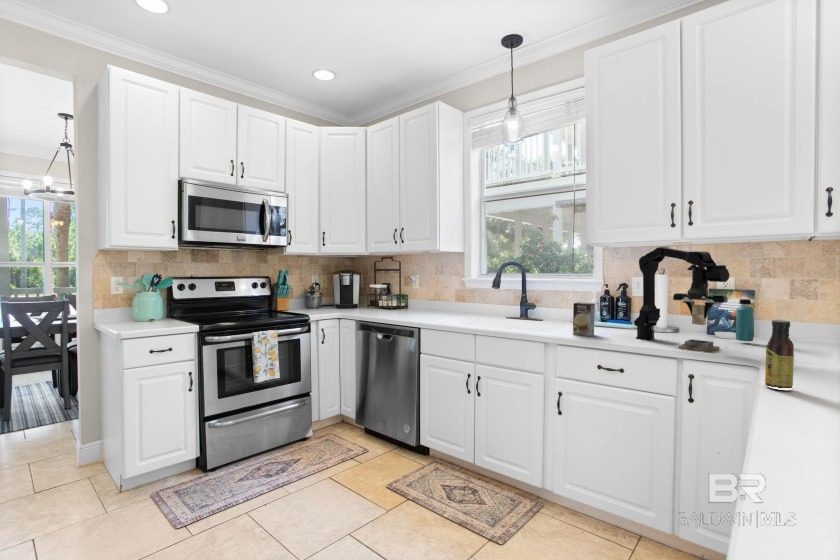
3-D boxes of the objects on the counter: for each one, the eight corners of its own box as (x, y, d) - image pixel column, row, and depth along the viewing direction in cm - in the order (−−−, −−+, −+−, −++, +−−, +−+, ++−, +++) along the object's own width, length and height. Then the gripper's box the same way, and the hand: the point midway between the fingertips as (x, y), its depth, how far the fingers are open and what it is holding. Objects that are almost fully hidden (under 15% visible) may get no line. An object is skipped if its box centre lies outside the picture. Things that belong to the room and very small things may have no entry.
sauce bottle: (765, 384, 130) (766, 318, 129) (792, 388, 126) (794, 320, 125) (764, 389, 125) (766, 320, 124) (793, 393, 121) (795, 322, 120)
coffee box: (572, 334, 223) (572, 303, 222) (576, 332, 228) (577, 302, 227) (590, 336, 217) (590, 304, 216) (594, 334, 222) (595, 303, 221)
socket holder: (678, 348, 186) (678, 341, 185) (687, 344, 194) (687, 338, 193) (711, 352, 177) (711, 345, 177) (719, 348, 185) (719, 341, 185)
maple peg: (692, 324, 185) (692, 305, 184) (695, 323, 187) (695, 304, 187) (702, 325, 182) (703, 305, 182) (705, 324, 185) (706, 305, 184)
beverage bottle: (756, 345, 193) (757, 299, 193) (739, 344, 195) (740, 299, 194) (748, 342, 200) (749, 298, 199) (732, 341, 201) (733, 298, 200)
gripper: (668, 281, 186) (668, 317, 186) (720, 282, 172) (719, 322, 172) (678, 280, 193) (677, 315, 194) (728, 281, 179) (727, 319, 180)
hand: (699, 318), depth 185 cm, fingers closed on maple peg, 4 cm apart
